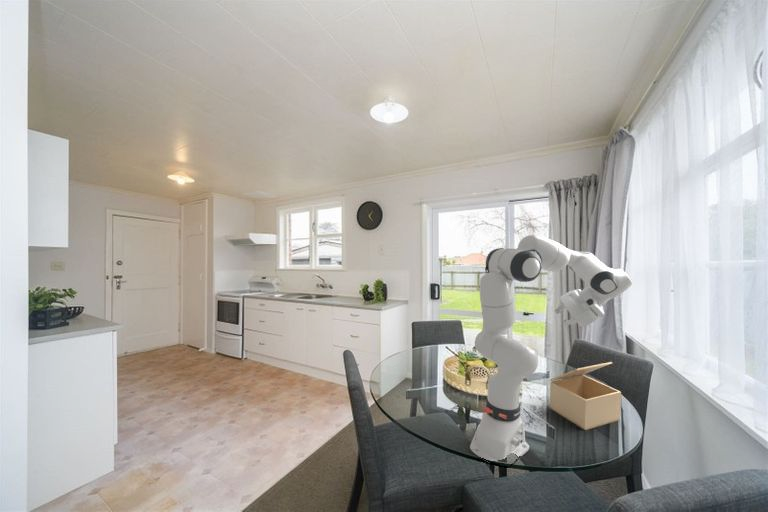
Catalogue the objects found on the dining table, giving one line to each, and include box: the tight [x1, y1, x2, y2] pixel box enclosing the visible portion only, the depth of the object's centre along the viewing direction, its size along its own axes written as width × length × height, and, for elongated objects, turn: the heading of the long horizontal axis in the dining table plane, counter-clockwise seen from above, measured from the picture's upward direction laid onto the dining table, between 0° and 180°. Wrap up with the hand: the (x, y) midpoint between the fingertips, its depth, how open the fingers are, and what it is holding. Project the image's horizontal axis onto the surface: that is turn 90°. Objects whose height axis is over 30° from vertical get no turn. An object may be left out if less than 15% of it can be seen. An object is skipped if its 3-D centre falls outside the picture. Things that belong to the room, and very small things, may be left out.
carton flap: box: [549, 361, 613, 382], centre depth 126 cm, size 16×20×1 cm
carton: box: [549, 374, 622, 431], centre depth 125 cm, size 16×20×12 cm
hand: (559, 318), depth 127 cm, fingers open, 8 cm apart
